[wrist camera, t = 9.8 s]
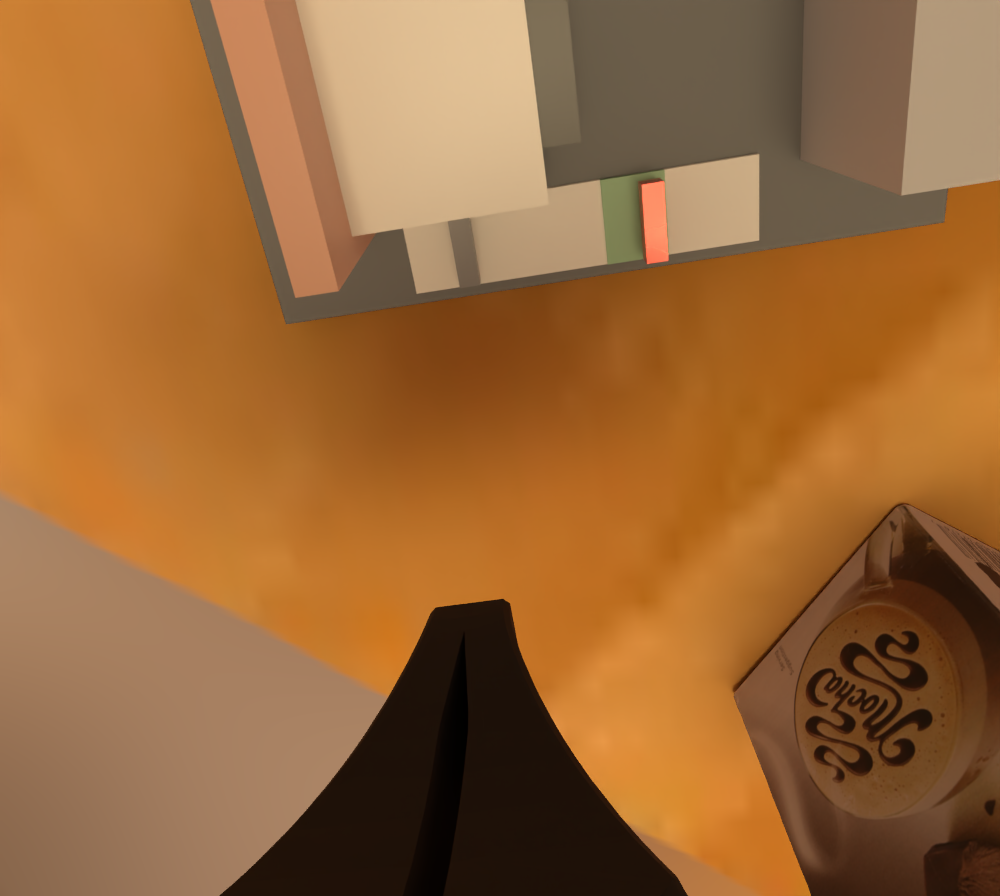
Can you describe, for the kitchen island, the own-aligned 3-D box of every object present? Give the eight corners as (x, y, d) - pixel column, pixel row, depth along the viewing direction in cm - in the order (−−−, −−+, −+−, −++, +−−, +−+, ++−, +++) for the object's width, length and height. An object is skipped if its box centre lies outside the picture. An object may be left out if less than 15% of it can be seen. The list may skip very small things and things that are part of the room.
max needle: (659, 177, 18) (664, 181, 17) (664, 255, 18) (668, 260, 18) (637, 181, 18) (641, 184, 17) (643, 258, 18) (646, 264, 18)
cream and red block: (545, -111, 15) (567, -181, 11) (583, 261, 19) (613, 330, 14) (272, -59, 16) (180, -105, 11) (360, 296, 19) (317, 374, 14)
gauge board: (974, -306, 15) (1240, -504, 10) (923, 214, 20) (1084, 275, 14) (163, -145, 16) (-3, -244, 11) (295, 312, 21) (225, 403, 15)
